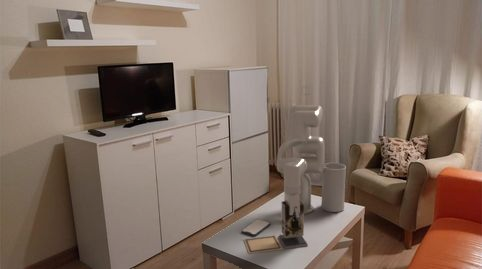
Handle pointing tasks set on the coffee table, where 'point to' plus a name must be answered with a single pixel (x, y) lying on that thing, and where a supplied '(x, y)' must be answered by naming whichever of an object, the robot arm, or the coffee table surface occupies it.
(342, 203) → the cylinder vase
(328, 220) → the coffee table surface
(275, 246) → the marked card
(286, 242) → the pad
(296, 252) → the coffee table surface
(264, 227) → the phone case
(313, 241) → the coffee table surface
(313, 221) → the coffee table surface
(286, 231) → the coffee box
